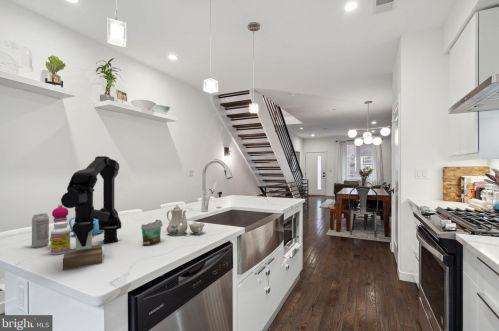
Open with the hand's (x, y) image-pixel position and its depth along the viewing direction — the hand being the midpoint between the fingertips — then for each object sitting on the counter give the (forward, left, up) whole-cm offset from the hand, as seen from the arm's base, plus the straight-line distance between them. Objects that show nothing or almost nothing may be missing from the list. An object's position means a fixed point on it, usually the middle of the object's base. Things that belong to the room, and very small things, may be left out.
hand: (84, 244), depth 94 cm
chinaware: (-22, +44, -7) cm, 50 cm away
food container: (-10, +28, -7) cm, 30 cm away
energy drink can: (-34, -18, -7) cm, 39 cm away
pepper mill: (-27, -10, -7) cm, 29 cm away
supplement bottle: (-18, -9, -7) cm, 21 cm away
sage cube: (0, 0, -1) cm, 1 cm away
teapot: (-46, +1, -7) cm, 46 cm away
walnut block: (0, 0, -6) cm, 6 cm away
